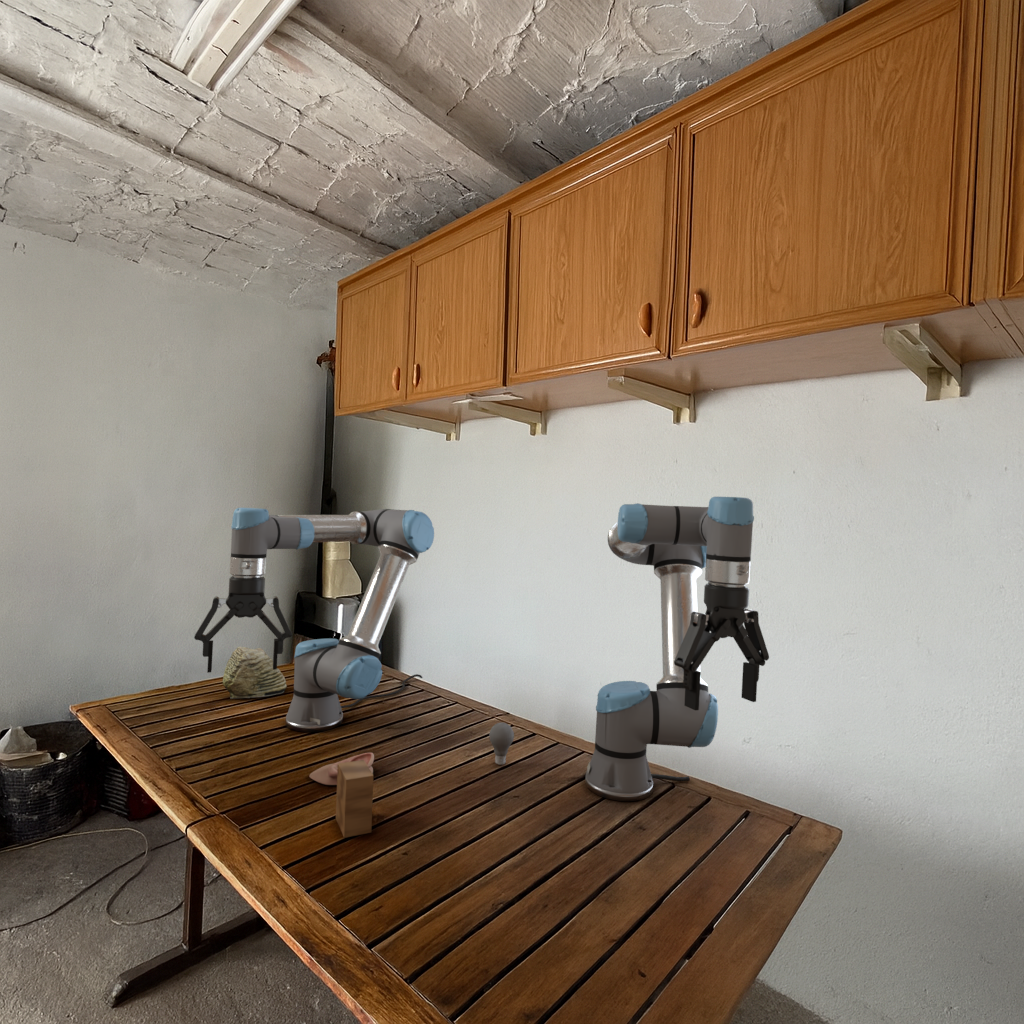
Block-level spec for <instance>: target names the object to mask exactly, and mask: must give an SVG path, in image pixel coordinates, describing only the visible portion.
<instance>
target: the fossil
mask: <svg viewBox="0 0 1024 1024" xmlns="http://www.w3.org/2000/svg"><path fill="white" fill-rule="evenodd" d="M222 676H223V677H222V685H223V687H224V688H225V690H226V691H228V693H229V698H230V699H250V698H264V697H271V696H275V695H281V694H284V693H285V691H286V689H287V687H288V686H287V680H286V678H285V676H284V674H283V673H282V672H281V669H279V668H278V667H277V669H274V670H273V658H271V657H270V656H269V655H268V654H267V653H266V652H265V650H264V649H263V648H260V647H258V648H251V647H247V646H246V647H245V646H238V647H237V648H236V649H235V650H233V651H232V653H231V656H230V657H229V659H228V660H227V663H226V666H225V668H224V671H223V675H222Z"/></svg>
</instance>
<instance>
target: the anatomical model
mask: <svg viewBox="0 0 1024 1024" xmlns="http://www.w3.org/2000/svg"><path fill="white" fill-rule="evenodd" d="M359 760H364V761H365V763H366V764H367V766H368V767H369V769H370V771H371V772H372V774H374V768H373V764H374V761H375V754H374V753H373V752H370V751H369V752H365V753H360V754H357V755H353V756H351V757H347V758H345V759H343V760H340V761H337V762H334V763H329V764H326V765H323V766H321V767H319V768H317V769H315V770H313V771H312V772H311V773H310V774H309V775H308V776H309V778H310V779H311V780H313V781H315V782H317V783H319V784H321V785H325V786H337V772H338V763H345V762H352V761H359Z"/></svg>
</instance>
